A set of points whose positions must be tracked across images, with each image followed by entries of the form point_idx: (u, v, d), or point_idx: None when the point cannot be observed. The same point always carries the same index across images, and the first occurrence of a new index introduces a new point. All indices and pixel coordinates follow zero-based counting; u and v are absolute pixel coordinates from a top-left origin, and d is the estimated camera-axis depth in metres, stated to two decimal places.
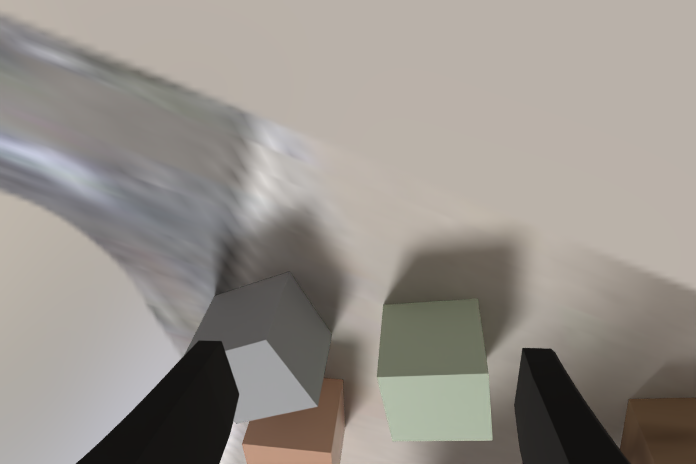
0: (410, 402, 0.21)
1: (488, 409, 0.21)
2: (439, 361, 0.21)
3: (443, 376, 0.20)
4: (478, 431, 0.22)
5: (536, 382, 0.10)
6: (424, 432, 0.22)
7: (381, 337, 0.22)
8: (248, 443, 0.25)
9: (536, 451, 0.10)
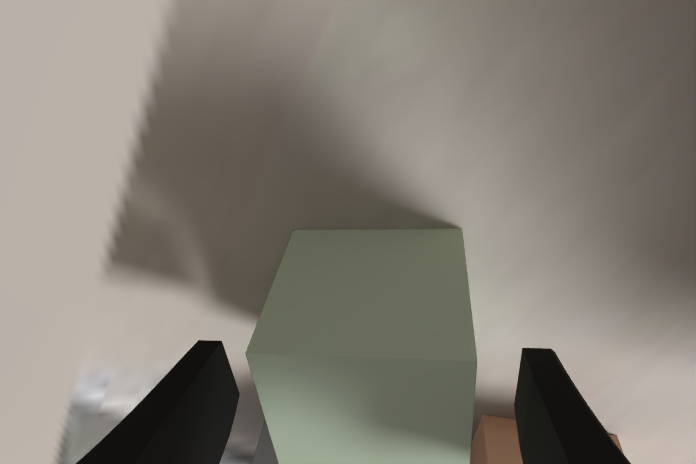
0: (346, 454, 0.11)
1: (358, 360, 0.10)
2: None
3: (265, 409, 0.11)
4: (439, 380, 0.10)
5: (536, 382, 0.10)
6: (438, 451, 0.11)
7: None
8: None
9: (536, 451, 0.10)
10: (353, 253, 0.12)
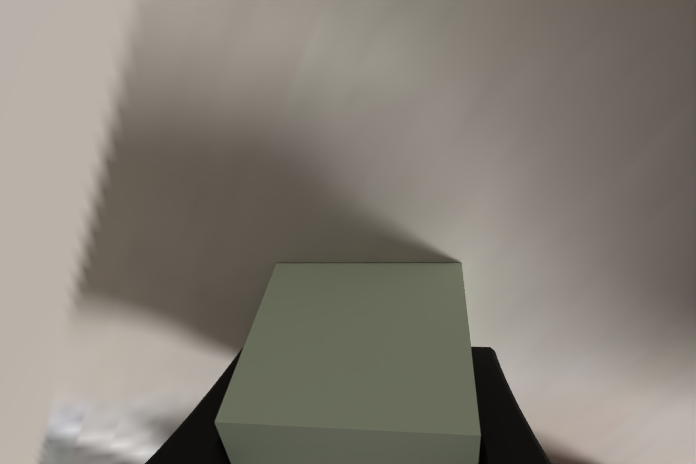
0: None
1: (344, 431, 0.08)
2: None
3: None
4: (436, 453, 0.08)
5: None
6: None
7: None
8: None
9: None
10: (341, 294, 0.11)
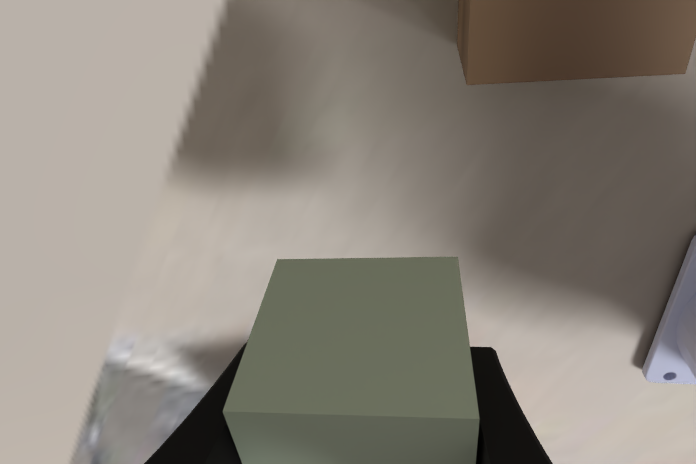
0: None
1: (348, 418, 0.09)
2: None
3: None
4: (436, 437, 0.09)
5: None
6: None
7: None
8: None
9: None
10: (341, 288, 0.11)
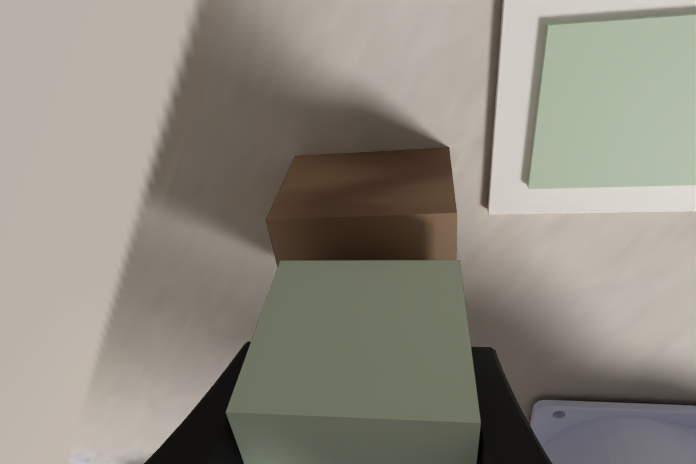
0: None
1: (350, 420, 0.09)
2: None
3: None
4: (438, 441, 0.09)
5: None
6: None
7: None
8: None
9: None
10: (344, 290, 0.11)
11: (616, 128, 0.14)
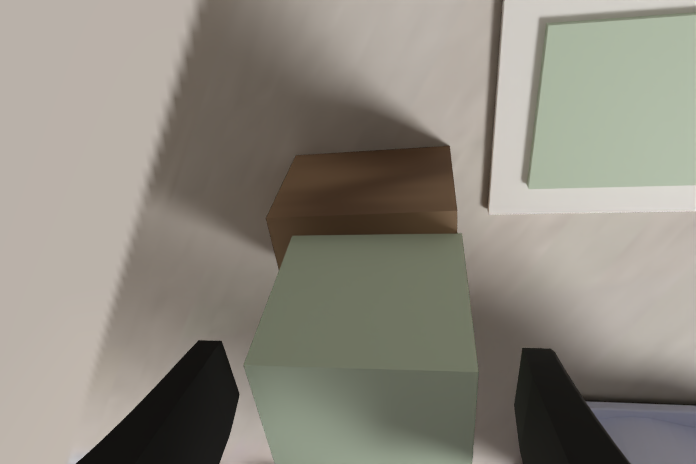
0: None
1: (358, 371, 0.09)
2: None
3: (263, 420, 0.11)
4: (439, 391, 0.09)
5: (536, 382, 0.10)
6: (440, 461, 0.11)
7: None
8: None
9: (536, 451, 0.10)
10: (352, 261, 0.12)
11: (616, 128, 0.14)
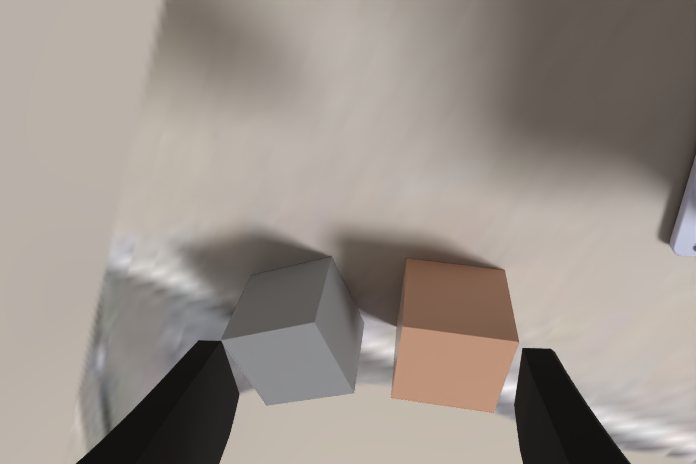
0: None
1: None
2: None
3: None
4: None
5: (536, 382, 0.10)
6: None
7: None
8: None
9: (536, 451, 0.10)
10: None
11: None
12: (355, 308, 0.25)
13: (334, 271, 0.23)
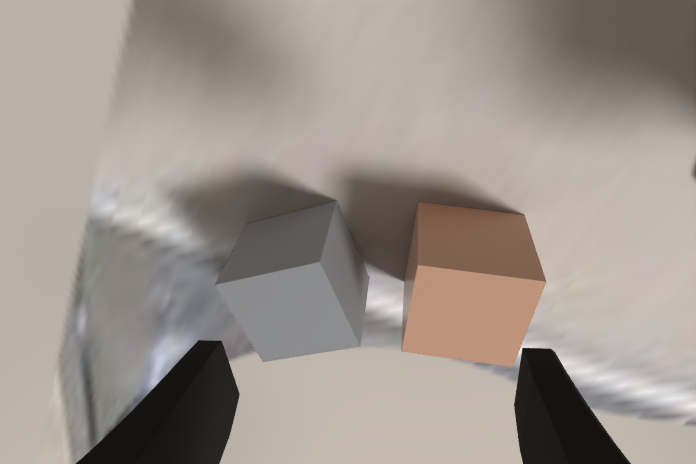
0: None
1: None
2: None
3: None
4: None
5: (536, 382, 0.10)
6: None
7: None
8: (402, 344, 0.20)
9: (536, 451, 0.10)
10: None
11: None
12: (360, 260, 0.23)
13: (339, 216, 0.21)
